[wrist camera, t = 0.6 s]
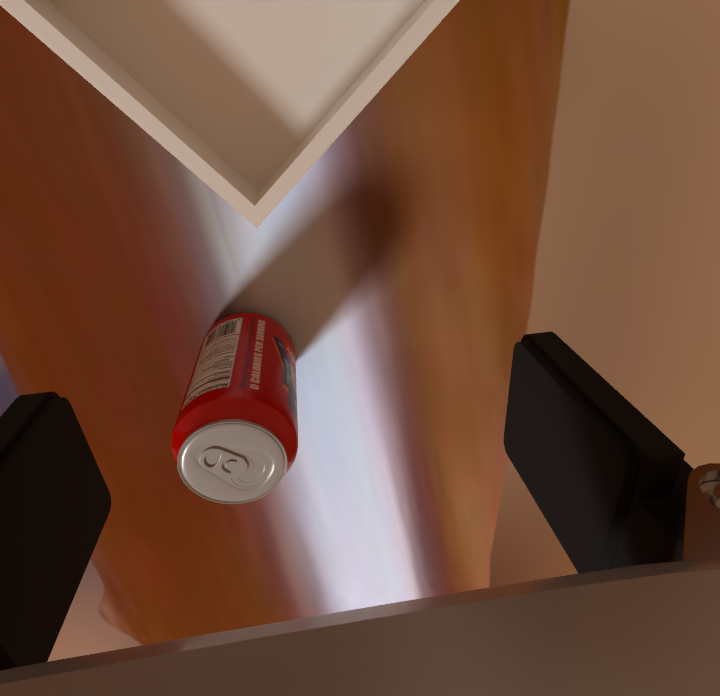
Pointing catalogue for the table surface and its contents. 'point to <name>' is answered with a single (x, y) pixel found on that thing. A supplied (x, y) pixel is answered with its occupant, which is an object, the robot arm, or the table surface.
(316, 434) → the table surface
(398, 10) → the tote
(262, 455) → the soda can
